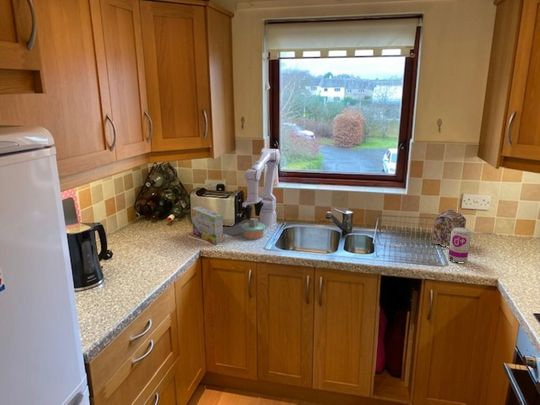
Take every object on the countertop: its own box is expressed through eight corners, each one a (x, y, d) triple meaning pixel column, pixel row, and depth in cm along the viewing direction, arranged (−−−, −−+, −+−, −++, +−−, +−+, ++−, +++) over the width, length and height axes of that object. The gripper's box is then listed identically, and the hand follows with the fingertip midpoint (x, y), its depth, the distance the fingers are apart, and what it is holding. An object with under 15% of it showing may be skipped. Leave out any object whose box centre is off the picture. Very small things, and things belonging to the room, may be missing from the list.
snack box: (191, 234, 222) (190, 207, 218) (200, 232, 226) (200, 206, 222) (214, 245, 207) (214, 216, 203) (223, 243, 210) (223, 214, 207)
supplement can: (464, 265, 186) (468, 234, 183) (445, 260, 192) (449, 230, 188) (469, 260, 192) (473, 229, 188) (451, 255, 198) (455, 225, 194)
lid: (252, 222, 228) (252, 213, 227) (270, 227, 220) (270, 218, 219) (236, 228, 218) (236, 219, 217) (255, 233, 210) (255, 224, 209)
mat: (233, 224, 239) (233, 223, 239) (253, 230, 231) (253, 229, 230) (213, 231, 227) (213, 230, 227) (234, 237, 218) (234, 236, 218)
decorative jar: (452, 249, 205) (457, 215, 200) (430, 243, 214) (434, 209, 209) (463, 244, 213) (468, 210, 208) (441, 238, 221) (445, 205, 217)
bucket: (252, 232, 227) (252, 223, 226) (267, 236, 221) (267, 227, 220) (240, 237, 219) (240, 228, 218) (255, 241, 213) (255, 232, 212)
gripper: (255, 188, 223) (255, 212, 227) (237, 193, 212) (238, 219, 215) (266, 190, 219) (265, 215, 222) (248, 195, 208) (248, 221, 211)
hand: (252, 217), depth 219 cm, fingers open, 7 cm apart
